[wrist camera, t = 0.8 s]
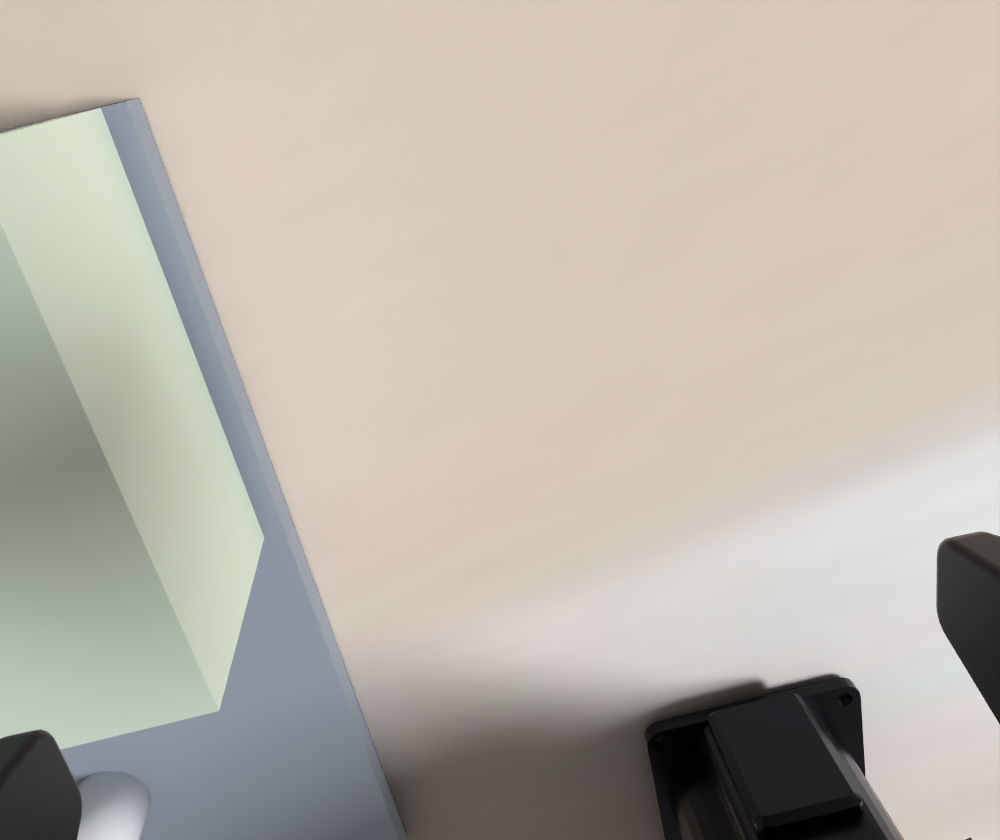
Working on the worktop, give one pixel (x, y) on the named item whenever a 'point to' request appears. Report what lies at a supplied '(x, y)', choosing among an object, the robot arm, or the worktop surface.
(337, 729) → the grey base plate
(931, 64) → the worktop surface
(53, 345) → the hood
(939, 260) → the worktop surface
